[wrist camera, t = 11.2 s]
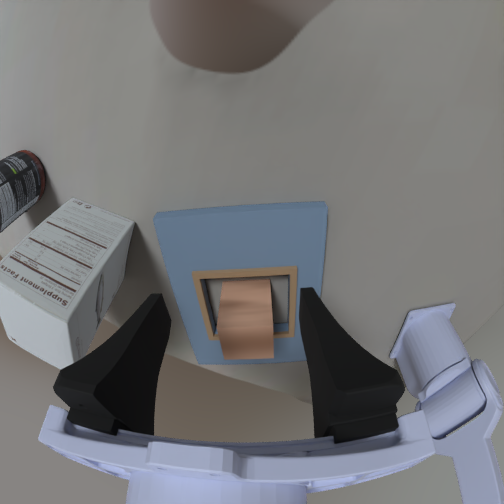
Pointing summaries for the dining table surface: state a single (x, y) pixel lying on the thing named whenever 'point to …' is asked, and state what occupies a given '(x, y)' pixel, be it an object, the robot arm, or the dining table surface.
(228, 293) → the block
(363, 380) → the robot arm
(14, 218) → the supplement bottle
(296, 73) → the dining table surface
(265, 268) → the blue board with hole
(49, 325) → the supplement box
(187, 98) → the dining table surface
